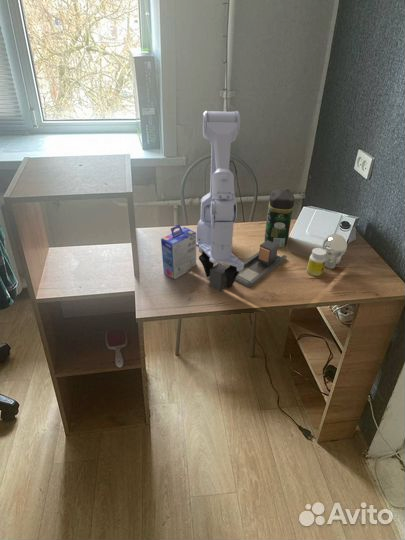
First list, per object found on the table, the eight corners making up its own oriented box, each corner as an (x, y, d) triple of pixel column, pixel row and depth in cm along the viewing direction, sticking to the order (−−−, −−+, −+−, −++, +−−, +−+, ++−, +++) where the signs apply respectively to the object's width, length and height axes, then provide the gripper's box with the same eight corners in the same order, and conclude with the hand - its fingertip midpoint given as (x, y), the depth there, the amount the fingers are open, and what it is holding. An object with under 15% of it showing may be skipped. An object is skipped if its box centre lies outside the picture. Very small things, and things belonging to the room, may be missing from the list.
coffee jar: (264, 234, 139) (270, 185, 129) (286, 236, 138) (295, 187, 128) (263, 248, 131) (270, 197, 121) (287, 251, 131) (296, 199, 120)
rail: (227, 279, 117) (228, 273, 116) (264, 252, 129) (265, 246, 128) (249, 290, 113) (250, 284, 111) (285, 261, 125) (286, 256, 124)
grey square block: (209, 285, 114) (210, 269, 111) (219, 278, 117) (220, 262, 114) (220, 291, 112) (221, 274, 109) (229, 284, 115) (231, 267, 112)
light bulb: (313, 268, 122) (320, 235, 115) (324, 259, 127) (332, 227, 120) (333, 278, 119) (342, 244, 112) (344, 268, 123) (353, 235, 116)
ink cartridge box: (184, 259, 125) (184, 219, 117) (197, 266, 122) (197, 225, 114) (161, 272, 119) (159, 231, 111) (174, 280, 116) (173, 238, 108)
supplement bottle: (322, 280, 118) (328, 256, 113) (306, 277, 118) (311, 254, 114) (321, 271, 122) (327, 248, 117) (306, 269, 122) (310, 246, 117)
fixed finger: (257, 261, 123) (259, 245, 120) (265, 256, 126) (267, 240, 122) (267, 266, 121) (270, 250, 117) (275, 260, 124) (278, 244, 120)
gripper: (191, 236, 107) (191, 276, 115) (234, 256, 99) (230, 298, 107) (208, 227, 111) (207, 266, 119) (250, 246, 104) (245, 286, 112)
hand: (219, 280), depth 114 cm, fingers open, 7 cm apart
